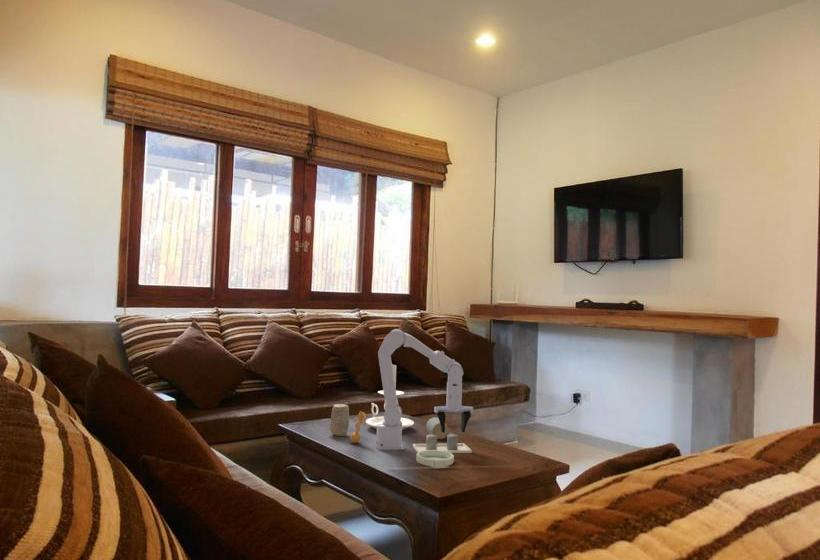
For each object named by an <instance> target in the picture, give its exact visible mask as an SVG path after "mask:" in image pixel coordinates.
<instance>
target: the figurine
mask: <svg viewBox="0 0 820 560" xmlns="http://www.w3.org/2000/svg"><path fill="white" fill-rule="evenodd" d="M357 418H358V420H357ZM367 419H368V418H367V417H366V412H363V411H361V410H360V411H359V413H358V414H357V416H355V418H354V419H353V423H354V422H355V421H356V420H357V422H356V423H355V424H354V427H355V428H356V430H355V431H354V432H352V433H351V434H350V437H349V439H350V442H351V443H353V444H357V443H359V442H360V441H361V437H362V436H361V435H360V431H361V426H362V425H363V426H362V427H365V426H366V424H367V423H366V420H367ZM363 420H364V423H363Z"/></svg>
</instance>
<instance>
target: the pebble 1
mask: <svg viewBox="0 0 820 560" xmlns="http://www.w3.org/2000/svg"><path fill="white" fill-rule="evenodd" d="M425 437H426V441H425V444H426V450H437V444H438V439H437V435H429V434H426V436H425Z"/></svg>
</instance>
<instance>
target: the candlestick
mask: <svg viewBox="0 0 820 560" xmlns="http://www.w3.org/2000/svg"><path fill="white" fill-rule="evenodd" d="M392 368H393V375H394V382H395V388H396V386H397V384H396V383H397V365H396V364H392ZM396 389H397V388H396ZM377 393H378V394H380V395H383V396H384V392H383V389H382V390H378V391H377ZM396 395H397V397H398V396H401V395H405V392H404V391H401V390H396ZM374 407H375V411H374ZM383 409H384V410H385V402H384V404H383ZM371 413H372V417H369V418H367V420H366V423H365V424H367V425H369V426H371V427H372V428H373V429H376V430H377V425H378V424H383V421H385V420H384V416H377V415H378V413H379V407H378V405H377V404H376V403H374V402H371ZM400 421H401V422H402V431H403V430H406V429H407V428H409V427H411V426H413V425H414V424H415V422H414V421H413V420H412V419H409V418H406V417H401V420H400Z"/></svg>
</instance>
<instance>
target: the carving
mask: <svg viewBox="0 0 820 560" xmlns="http://www.w3.org/2000/svg"><path fill="white" fill-rule="evenodd" d="M330 416H331V418H330V433H331V434H333V435H334V436H338V437H343V436H344V437H345V436H347V435H348V430H349V426H350V407H349V405H348V404H345V403H343V404H342V403H337V404H334V405H333V406H332V409H331V415H330Z"/></svg>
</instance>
